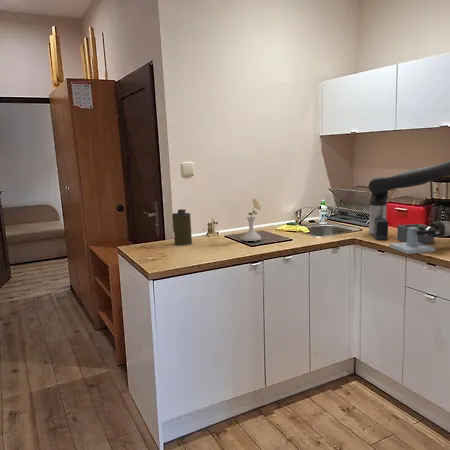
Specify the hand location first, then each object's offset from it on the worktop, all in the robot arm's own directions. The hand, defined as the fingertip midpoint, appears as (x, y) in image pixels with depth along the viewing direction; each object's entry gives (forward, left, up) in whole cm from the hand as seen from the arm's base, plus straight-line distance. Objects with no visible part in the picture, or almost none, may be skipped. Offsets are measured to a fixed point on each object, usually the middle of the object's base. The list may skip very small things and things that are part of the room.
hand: (411, 231), depth 212 cm
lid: (0, 0, -9) cm, 9 cm away
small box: (-30, +1, -9) cm, 31 cm away
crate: (-16, +13, -9) cm, 23 cm away
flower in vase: (-50, -69, -9) cm, 85 cm away
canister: (-58, -109, -9) cm, 124 cm away
